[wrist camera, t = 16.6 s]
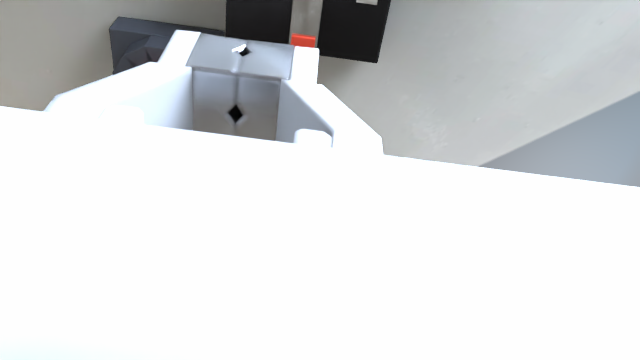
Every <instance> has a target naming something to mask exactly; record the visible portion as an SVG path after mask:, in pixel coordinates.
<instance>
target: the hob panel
mask: <svg viewBox="0 0 640 360" xmlns="http://www.w3.org/2000/svg"><path fill="white" fill-rule="evenodd" d="M390 2H391V0H323V4H322V12H321V19H320V26H319V34H318V41H317V48H318V49H319V55H320V56H328V57H335V58H342V59H350V60H357V61H364V62H372V63H377V62H378V58H379V53H380V49H381V44H382V39H383V35H384V30H385V25H386V21H387V16H388V12H389V7H390ZM292 4H293V0H226V35H225V37H229V38H236V39H242V40H252V41H261V42H270V43H279V44H288V43H289V33H290V23H291V13H292Z"/></svg>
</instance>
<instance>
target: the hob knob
mask: <svg viewBox="0 0 640 360" xmlns="http://www.w3.org/2000/svg"><path fill="white" fill-rule="evenodd" d="M322 4H323V0H293V4H292V13H291V23H290V33H289V43H288V45H294V49H295V46H299V47H309V48H317V41H318V34H319V26H320V19H321V12H322Z"/></svg>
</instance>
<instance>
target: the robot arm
mask: <svg viewBox="0 0 640 360" xmlns="http://www.w3.org/2000/svg"><path fill="white" fill-rule="evenodd" d="M318 58H319V49H318V48H309V47H299V46H295V49H294V45H288V44H279V43H270V42H261V41H252V40H242V39H236V38H229V37H223V36H216V35H210V34H203V33H201V32H193V31H183V30H176V31H175V32H174V34H173V35H172V37H171V39H170V41H169V42H168V44H167V46H166V48H165V49H164V51H163V53H162V55H161V56H160V58H159V60H158V62H157V63H156V62H148V63H145V64H142V65H140V66H137V67H134V68H131V69H129V70H126V71H123V72H120V73H117V74H115V75H112V76H109V77H106V78H103V79H101V80H98V81H95V82H92V83H89V84H87V85H84V86H81V87H78V88H76V89H73V90H70V91H67V92H64V93H62V94H59V95H56V96H55V97H54V98H53V100H52V101H51V102H50V103H49V105H48V106H47V107H46V108H45V110H44V111H43V112H42V111H34V110H26V109H18V108H11V107H3V106H0V360H640V187H632V186H624V185H617V184H609V183H601V182H592V181H585V180H577V179H569V178H560V177H553V176H546V175H538V174H529V173H522V172H514V171H506V170H498V169H490V168H483V167H475V166H467V165H459V164H451V163H443V162H435V161H427V160H420V159H412V158H404V157H396V156H388V155H383V147H382V138H381V137H380V136H379V135H378V134H377V133H376V132H374V131H373V130H372V129H371V128H370V127H369V126H368V125H367V124H366V123H364V122H363V121H362V120H361V119H360V118H359V117H358V116H357V115H356V114H354V113H353V112H352V111H351V110H350V109H349V108H348V107H347V106H346V105H344V104H343V103H342V102H341V101H340V100H339V99H338V98H337V97H336V96H334V95H333V94H332V93H331V92H330V91H329V90H328V89H327V88H325V87H324V86H323V85H321V84H316V83H317V71H318Z"/></svg>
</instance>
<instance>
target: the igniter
mask: <svg viewBox="0 0 640 360" xmlns="http://www.w3.org/2000/svg"><path fill="white" fill-rule="evenodd" d="M176 30H183V31H193V32H201V33H203V34H210V35H216V36H223V37H225V32H224V31H219V30H212V29H205V28H198V27H190V26H183V25H176V24H169V23H161V22H154V21H147V20H140V19H132V18H125V17H118V18H117V19H116V20H115V22H114V23H113V24H112V26H111V27H110V28H109V32H110V41H111V50H112V59H113V68H114V71H113V75H115V74H117V73H120V72H123V71H126V70H129V69H131V68H134V67H137V66H140V65H142V64H145V63H148V62H156V63H157V62H158V60H159V58H160V56H161V55H162V53H163V51H164V49H165V48H166V46H167V44H168V42H169V41H170V39H171V37H172V35H173V34H174V32H175V31H176Z"/></svg>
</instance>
